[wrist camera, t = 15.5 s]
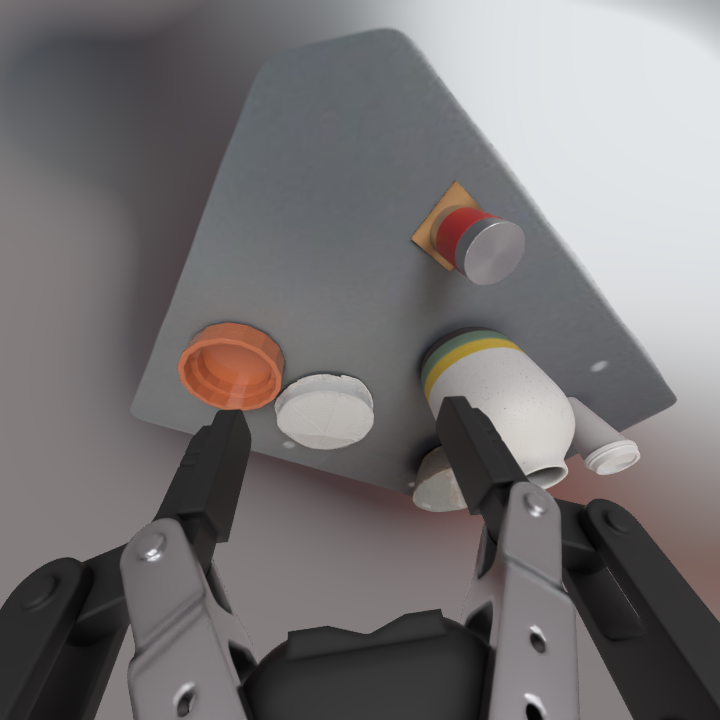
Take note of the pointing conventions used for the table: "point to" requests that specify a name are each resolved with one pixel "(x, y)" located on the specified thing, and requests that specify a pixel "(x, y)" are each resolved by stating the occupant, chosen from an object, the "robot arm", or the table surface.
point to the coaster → (451, 197)
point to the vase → (504, 397)
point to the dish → (232, 367)
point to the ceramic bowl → (437, 484)
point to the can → (477, 243)
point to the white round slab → (325, 411)
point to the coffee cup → (600, 442)
